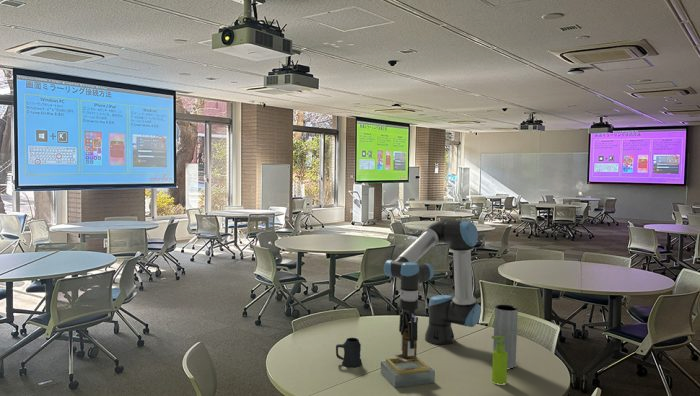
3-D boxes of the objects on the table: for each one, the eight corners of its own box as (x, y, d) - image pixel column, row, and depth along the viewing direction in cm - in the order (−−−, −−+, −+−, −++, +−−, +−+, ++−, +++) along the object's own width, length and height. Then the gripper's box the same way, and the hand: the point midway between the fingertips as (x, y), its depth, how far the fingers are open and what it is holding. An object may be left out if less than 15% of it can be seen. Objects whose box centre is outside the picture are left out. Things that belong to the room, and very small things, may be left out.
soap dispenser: (487, 380, 225) (489, 333, 224) (503, 379, 225) (504, 333, 224) (492, 385, 219) (494, 338, 218) (508, 385, 219) (510, 338, 218)
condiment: (420, 358, 224) (421, 330, 223) (405, 361, 219) (405, 333, 219) (409, 352, 230) (410, 325, 229) (394, 356, 225) (395, 328, 225)
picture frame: (415, 366, 239) (415, 352, 238) (434, 382, 221) (435, 367, 220) (378, 370, 233) (378, 355, 233) (394, 387, 215) (395, 372, 215)
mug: (362, 360, 245) (362, 336, 244) (362, 367, 236) (362, 343, 235) (336, 359, 245) (336, 335, 244) (335, 367, 236) (335, 342, 235)
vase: (502, 371, 235) (504, 311, 233) (488, 363, 244) (490, 305, 243) (520, 368, 239) (522, 309, 237) (505, 360, 248) (507, 303, 247)
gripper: (392, 294, 231) (390, 346, 233) (410, 305, 213) (408, 361, 215) (407, 293, 234) (406, 344, 235) (427, 304, 216) (425, 359, 217)
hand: (407, 352), depth 225 cm, fingers closed on condiment, 6 cm apart
